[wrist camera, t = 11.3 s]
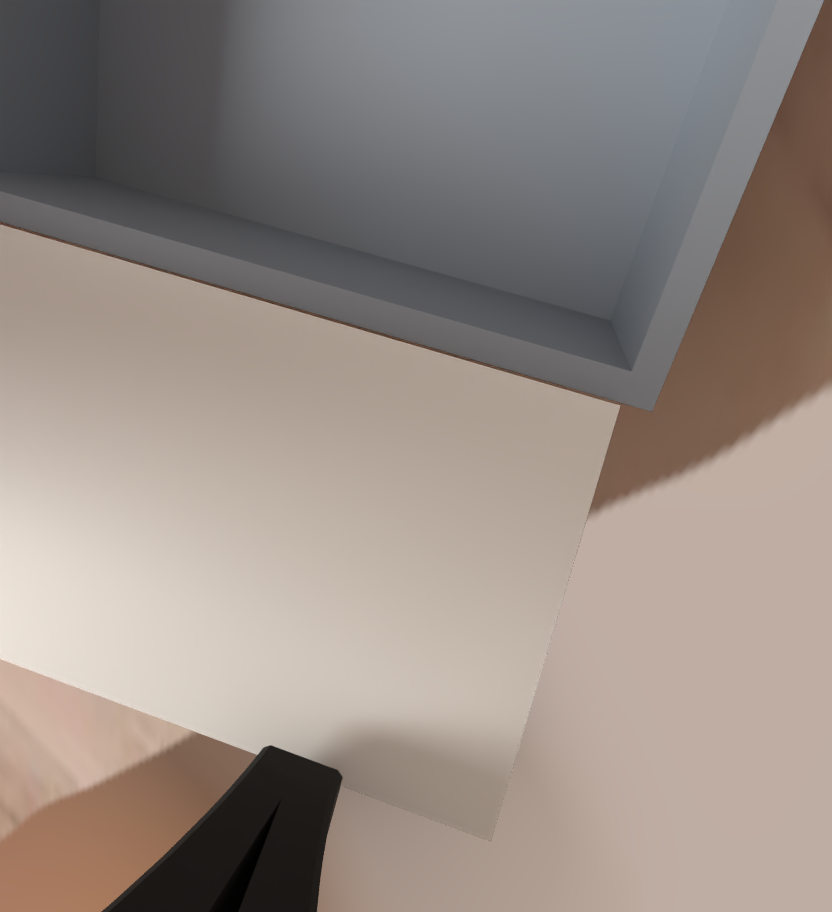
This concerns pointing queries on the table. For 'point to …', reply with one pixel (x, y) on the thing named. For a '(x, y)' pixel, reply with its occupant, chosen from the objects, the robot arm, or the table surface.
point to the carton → (410, 159)
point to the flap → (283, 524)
